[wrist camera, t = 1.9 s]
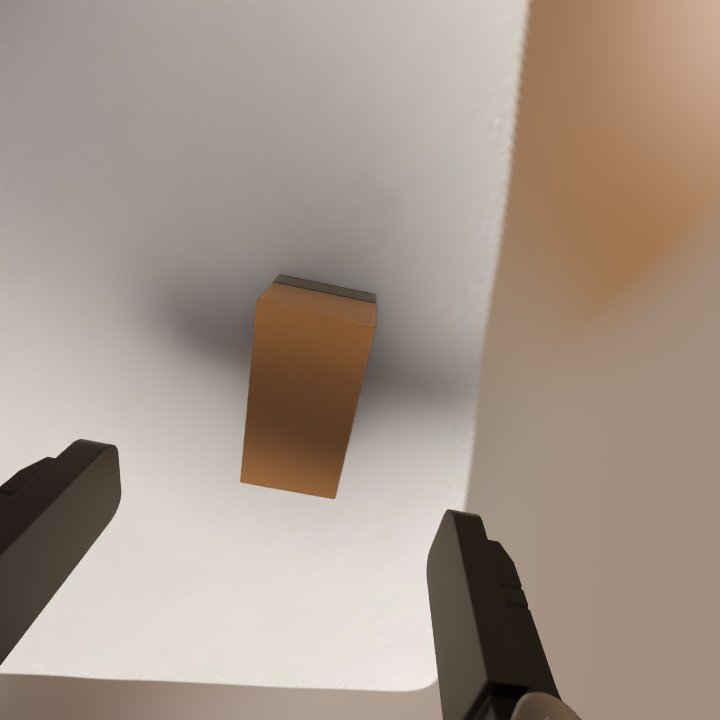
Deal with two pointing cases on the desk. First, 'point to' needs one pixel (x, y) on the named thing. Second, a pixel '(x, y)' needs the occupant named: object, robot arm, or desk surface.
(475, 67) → the desk surface
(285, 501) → the desk surface
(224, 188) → the desk surface
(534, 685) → the robot arm
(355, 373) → the eraser
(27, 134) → the desk surface
